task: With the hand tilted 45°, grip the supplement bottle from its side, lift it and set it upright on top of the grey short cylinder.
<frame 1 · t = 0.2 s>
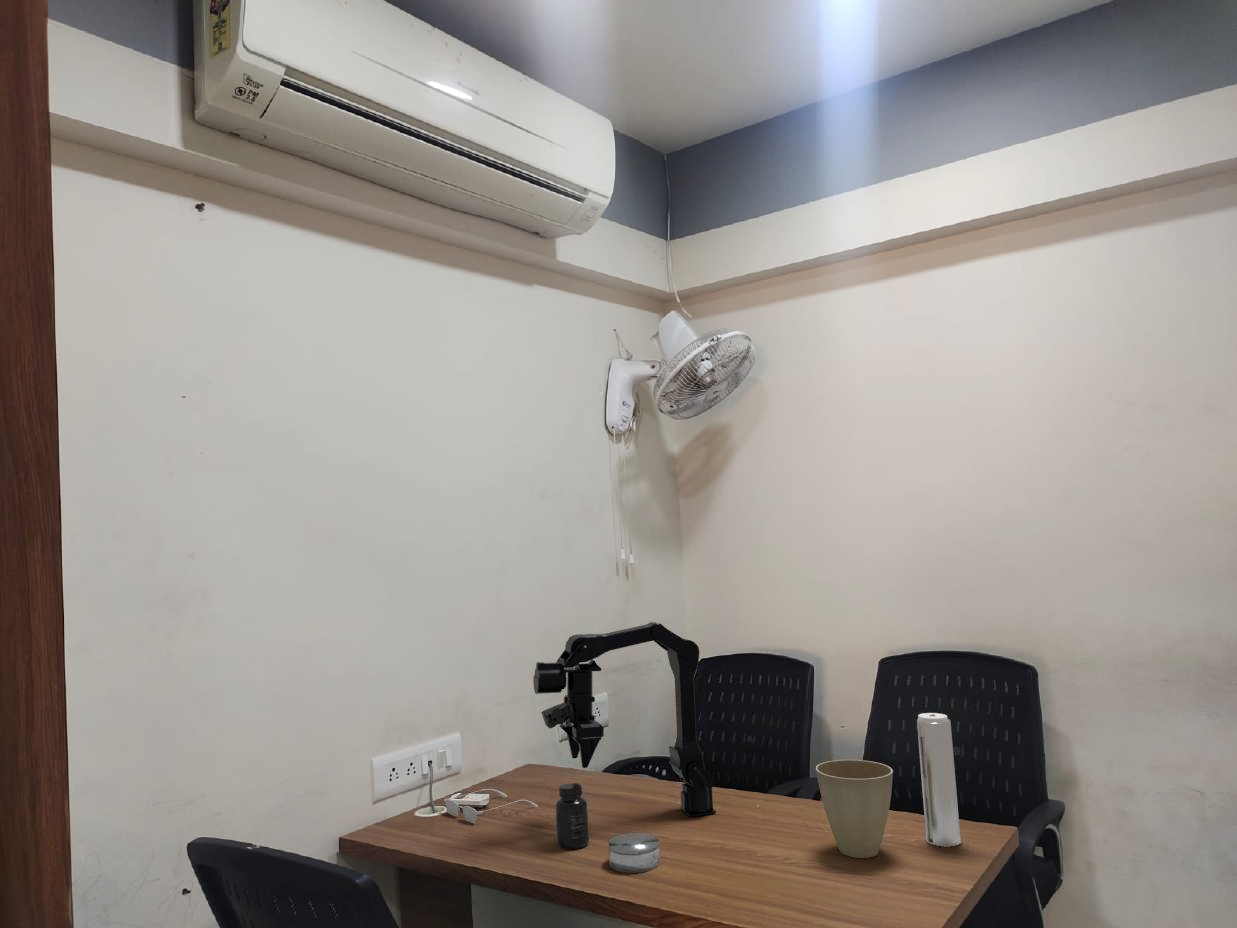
hand: (579, 762, 186), 14 cm above the table, tool pointing down, fingers open, 9 cm apart
grey short cylinder: (634, 862, 163), on the table
eyeglasses: (492, 812, 202), on the table
plant pot: (859, 852, 164), on the table
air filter: (943, 842, 167), on the table
supplement bottle: (573, 845, 175), on the table
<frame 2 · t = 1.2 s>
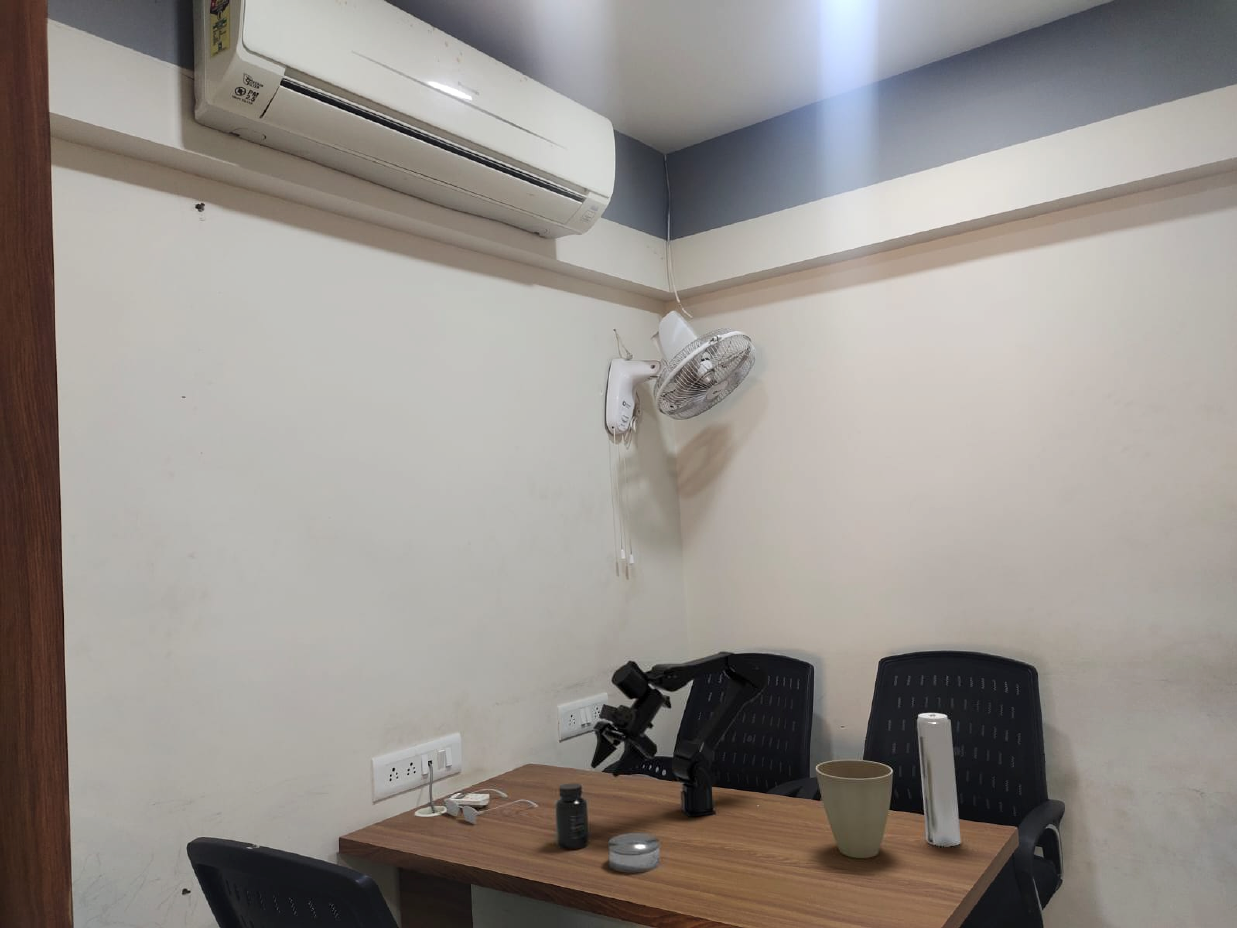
hand: (602, 771, 181), 14 cm above the table, tool tilted 45°, fingers open, 9 cm apart
nothing on the table moved.
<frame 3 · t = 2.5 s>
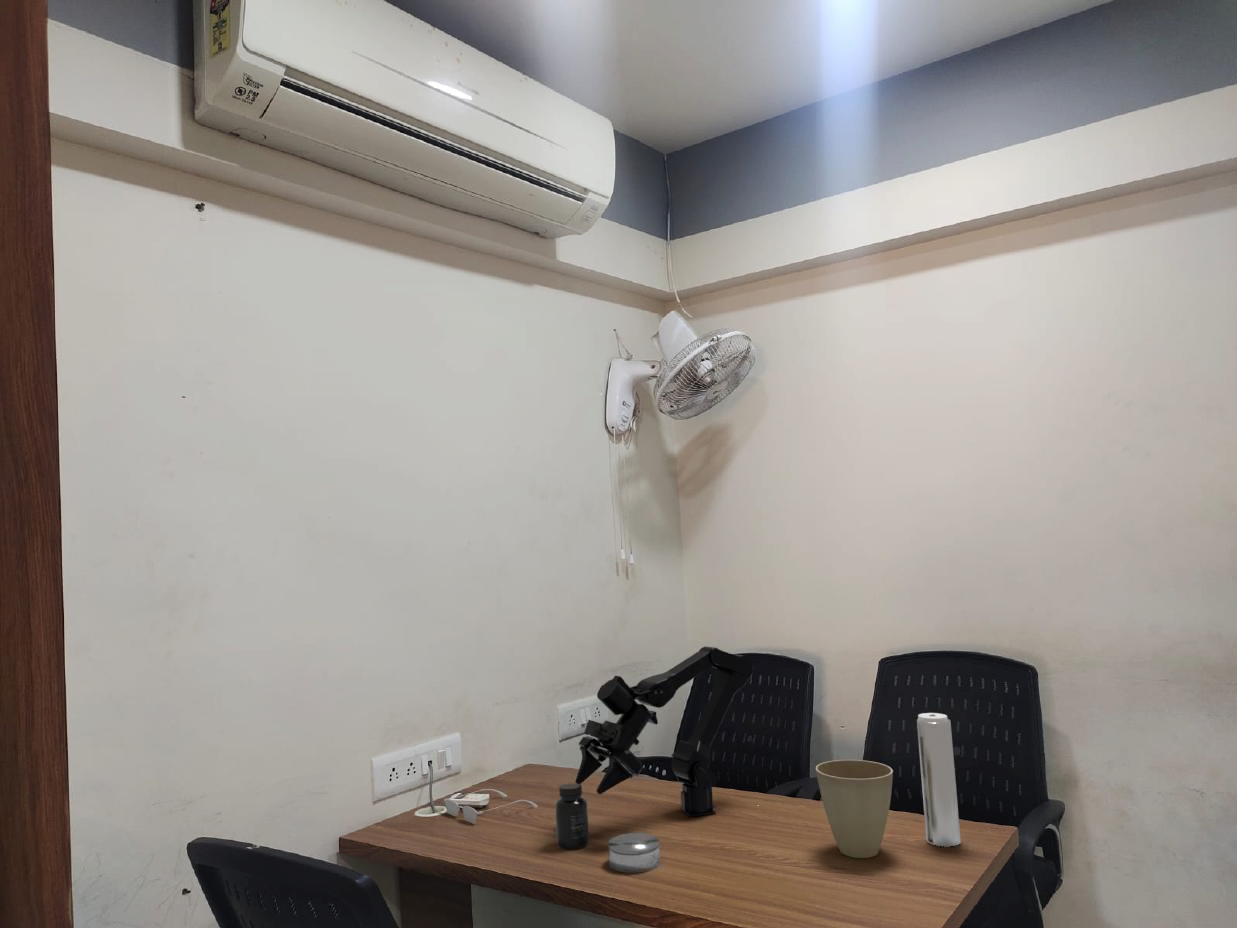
hand: (587, 788, 178), 11 cm above the table, tool tilted 45°, fingers open, 9 cm apart
nothing on the table moved.
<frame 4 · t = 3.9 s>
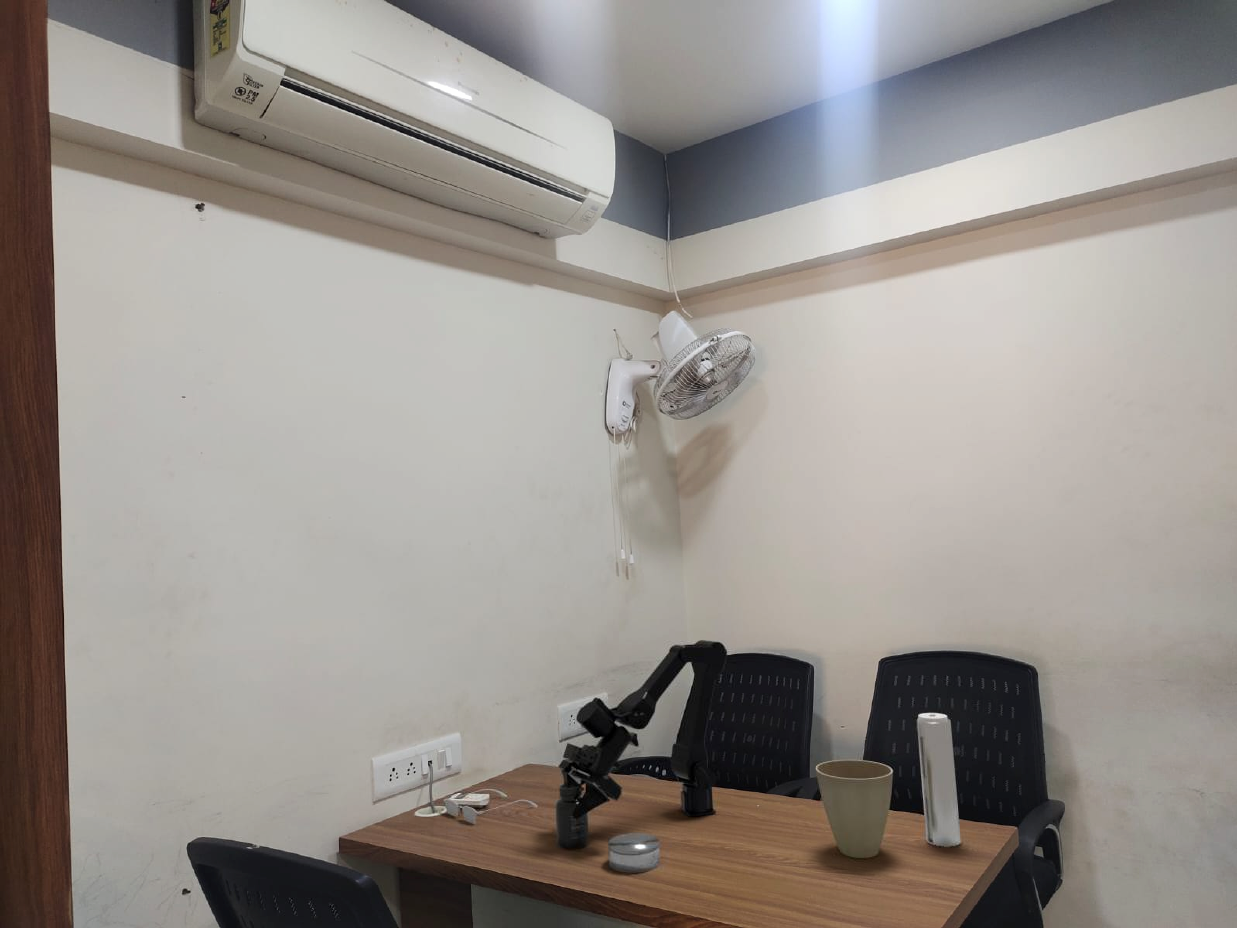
hand: (566, 813, 175), 7 cm above the table, tool tilted 45°, fingers closed on supplement bottle, 7 cm apart
supplement bottle: (573, 845, 175), on the table, touching gripper
everything else where it was.
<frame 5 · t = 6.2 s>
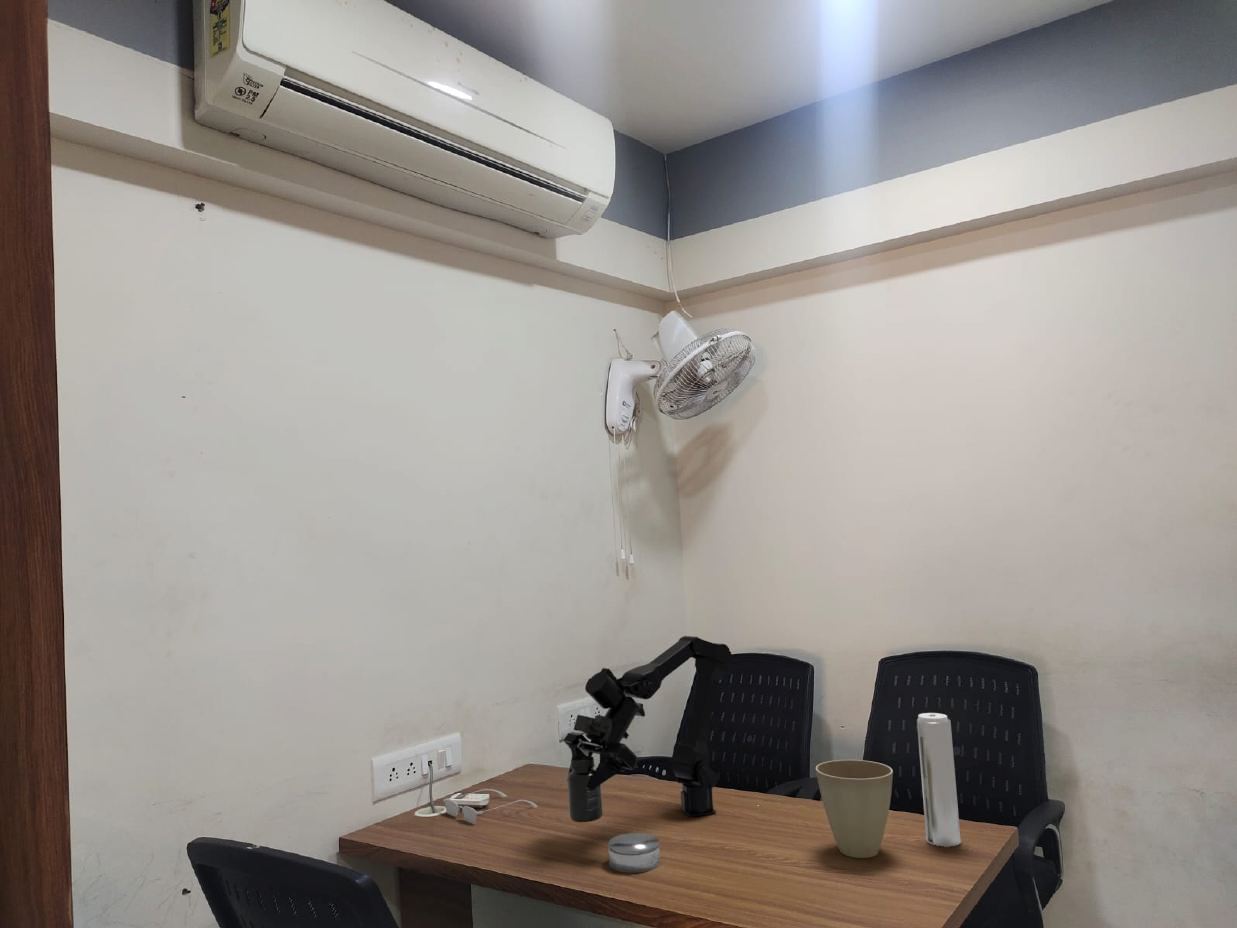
hand: (578, 785, 172), 13 cm above the table, tool tilted 45°, fingers closed on supplement bottle, 7 cm apart
supplement bottle: (586, 818, 172), point 6 cm above the table, touching gripper
everything else where it was.
when the fingers open (11 cm above the table, at t = 8.0 s): supplement bottle stays where it is, resting on grey short cylinder.
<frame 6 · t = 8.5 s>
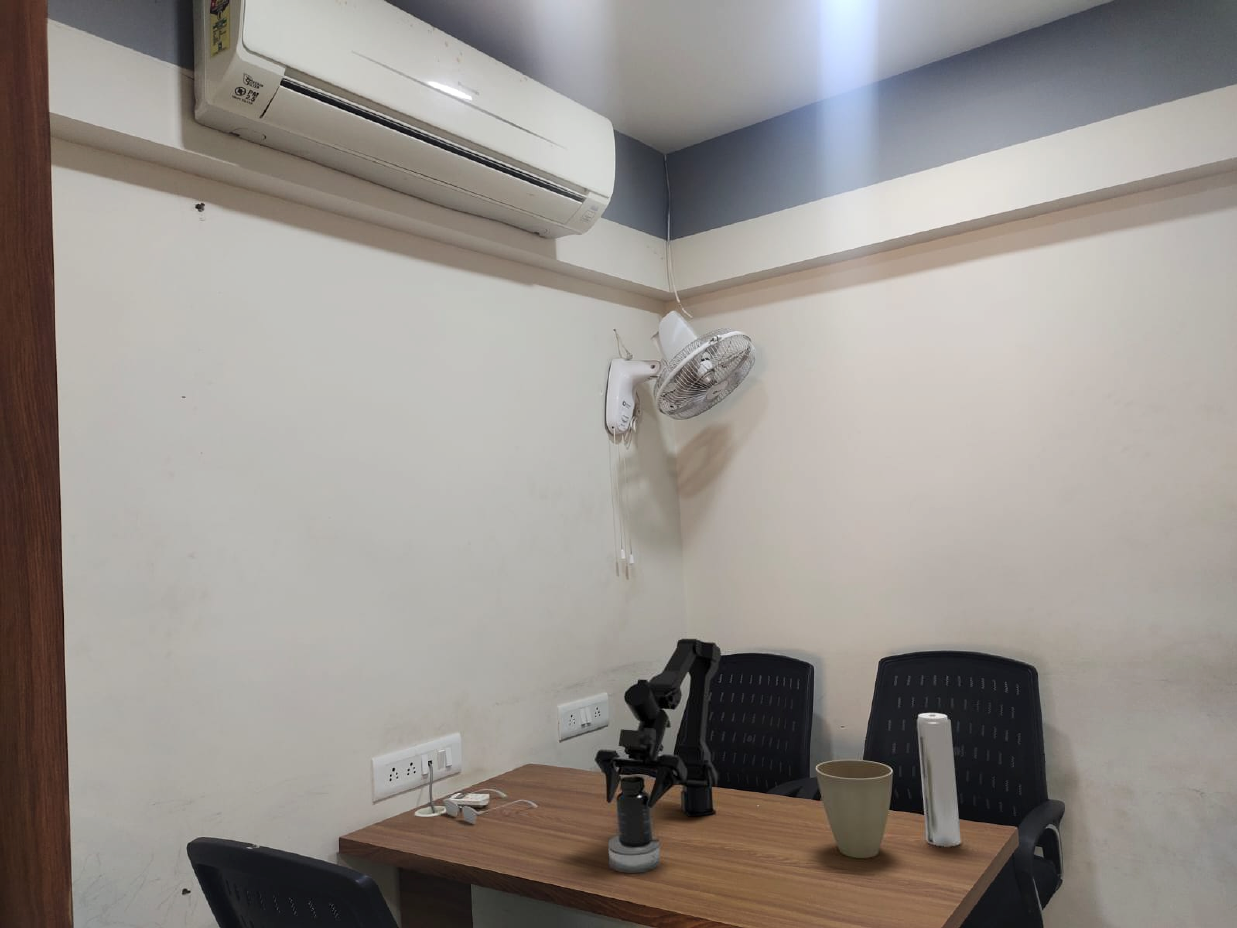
hand: (628, 804, 163), 12 cm above the table, tool tilted 45°, fingers open, 9 cm apart
supplement bottle: (635, 842, 164), point 4 cm above the table, touching grey short cylinder
everything else where it was.
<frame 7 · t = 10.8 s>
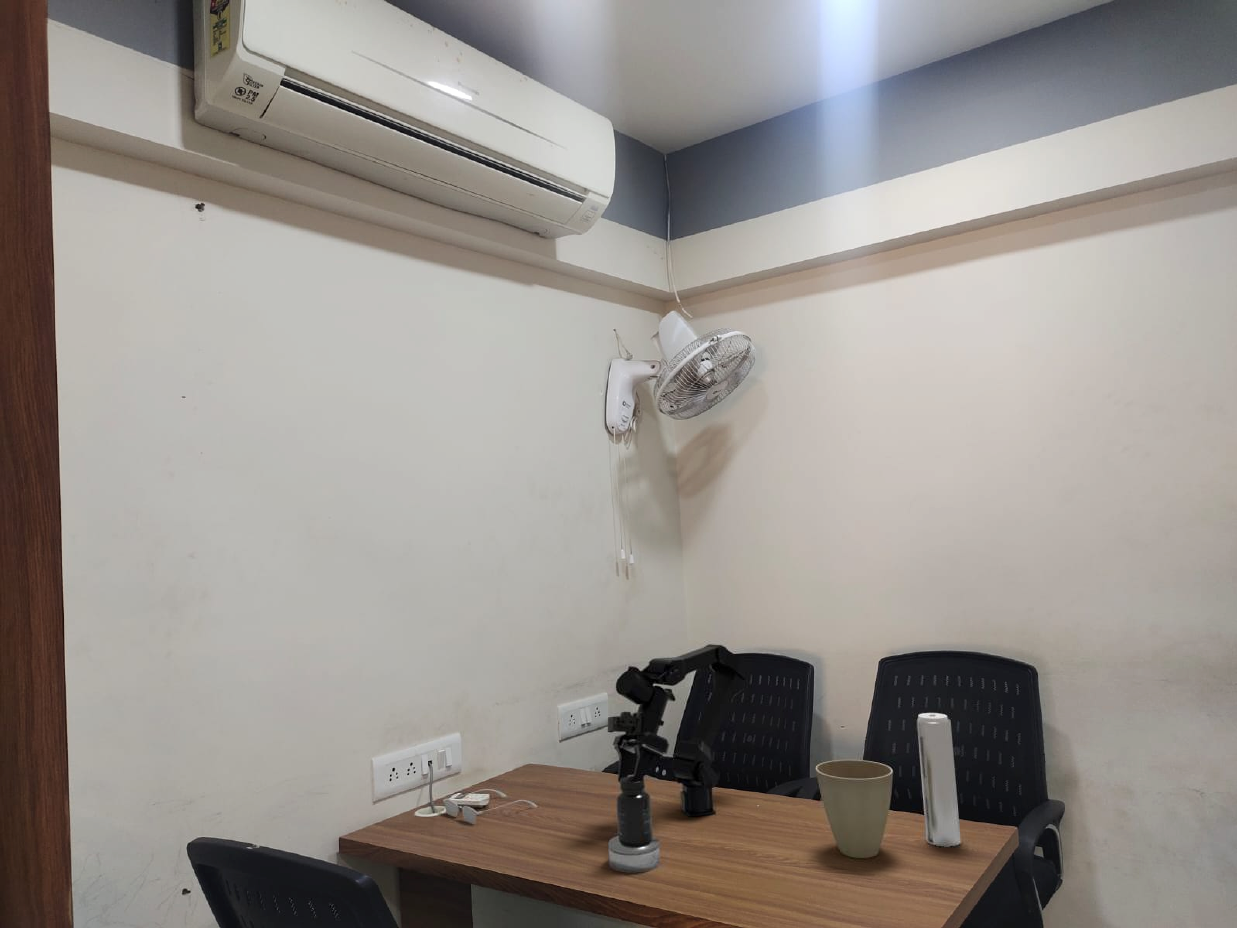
hand: (627, 782, 179), 11 cm above the table, tool tilted 30°, fingers open, 9 cm apart
nothing on the table moved.
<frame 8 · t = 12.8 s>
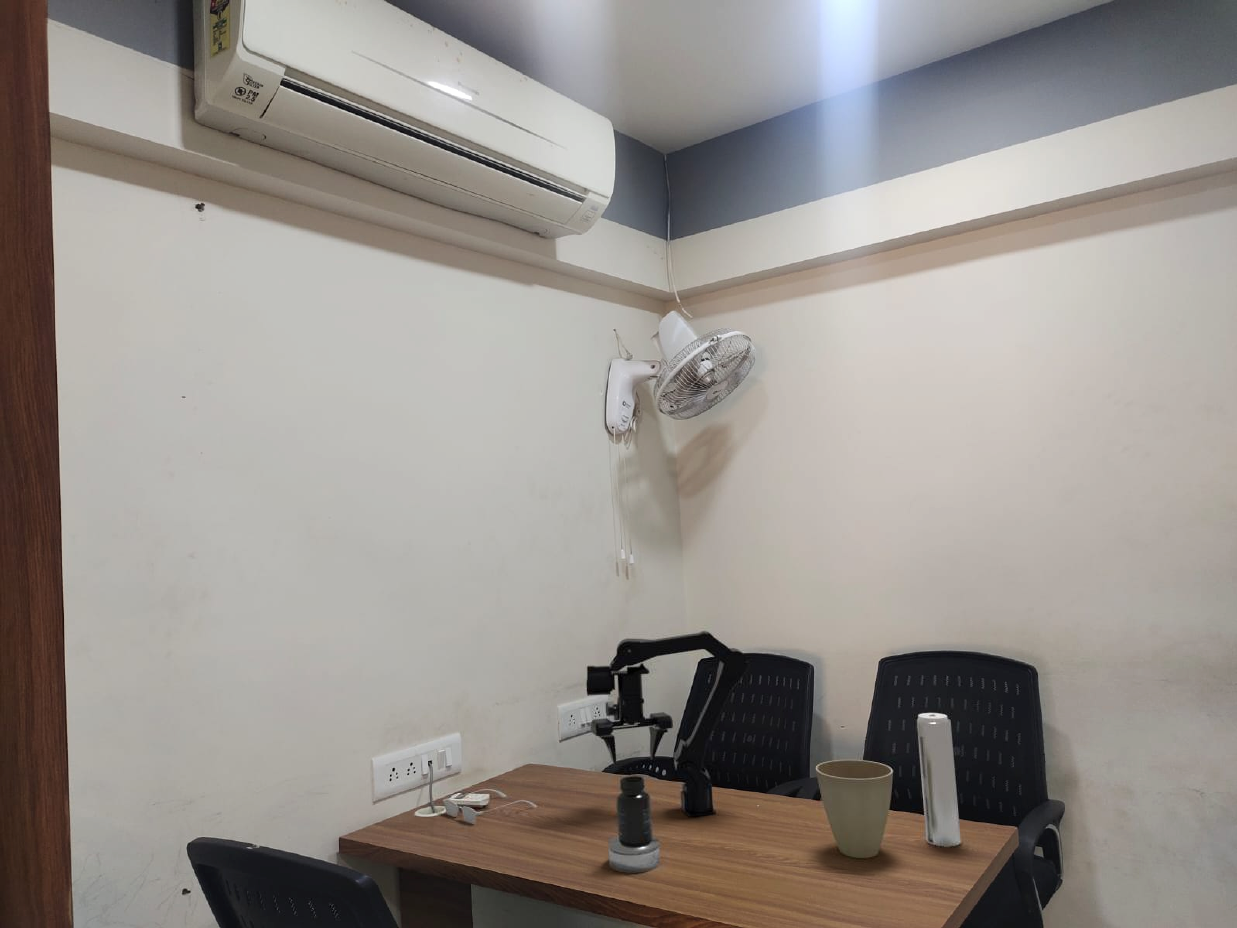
hand: (633, 761, 194), 12 cm above the table, tool pointing down, fingers open, 9 cm apart
nothing on the table moved.
at the end: supplement bottle inside the target area on the grey short cylinder (0.3 cm from its centre), point 3.8 cm above the grey short cylinder's base; supplement bottle tilted 0°; the gripper is holding nothing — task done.
